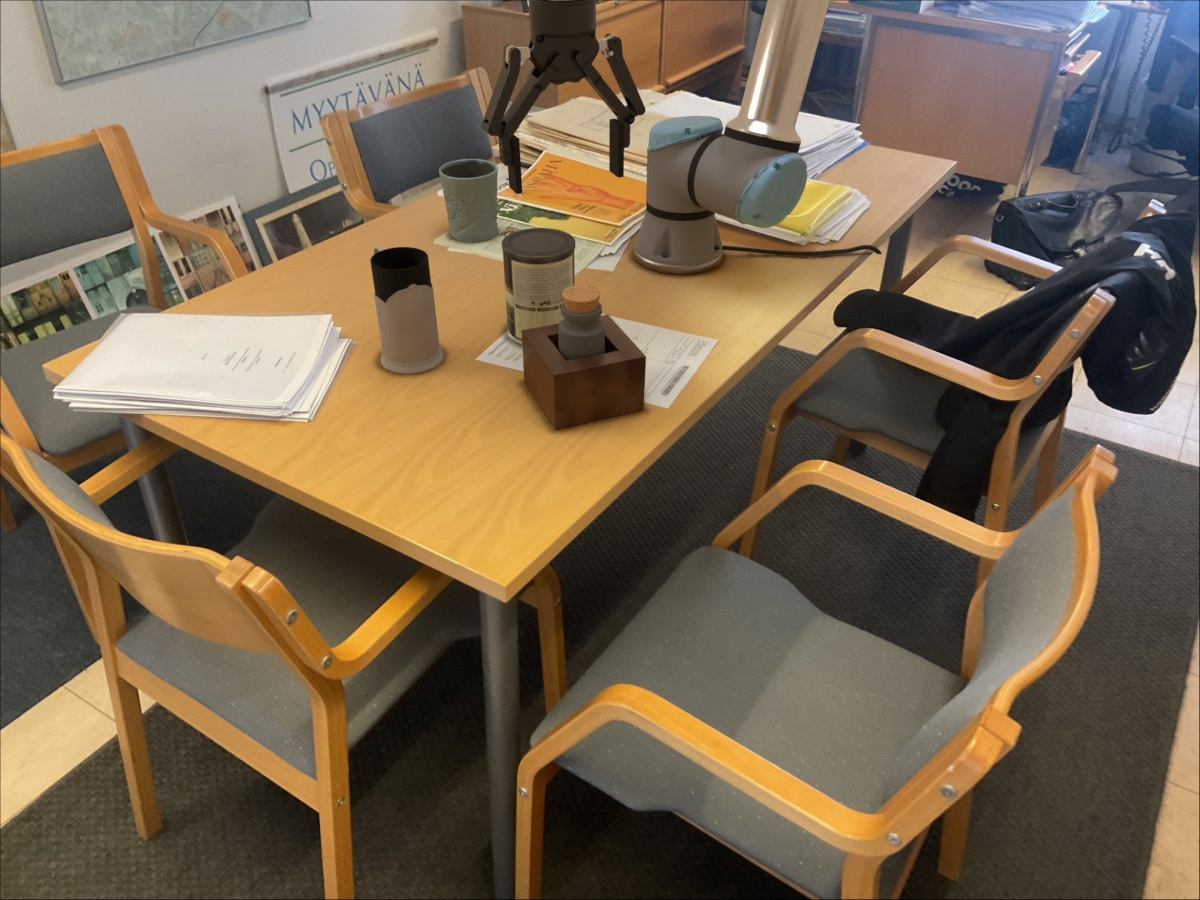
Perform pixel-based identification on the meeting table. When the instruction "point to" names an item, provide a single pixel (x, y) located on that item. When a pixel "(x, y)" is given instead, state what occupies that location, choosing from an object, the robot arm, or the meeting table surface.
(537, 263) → the coffee can
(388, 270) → the glass holder
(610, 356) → the bottle stand
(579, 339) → the bottle
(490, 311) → the meeting table surface
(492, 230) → the grey cup
